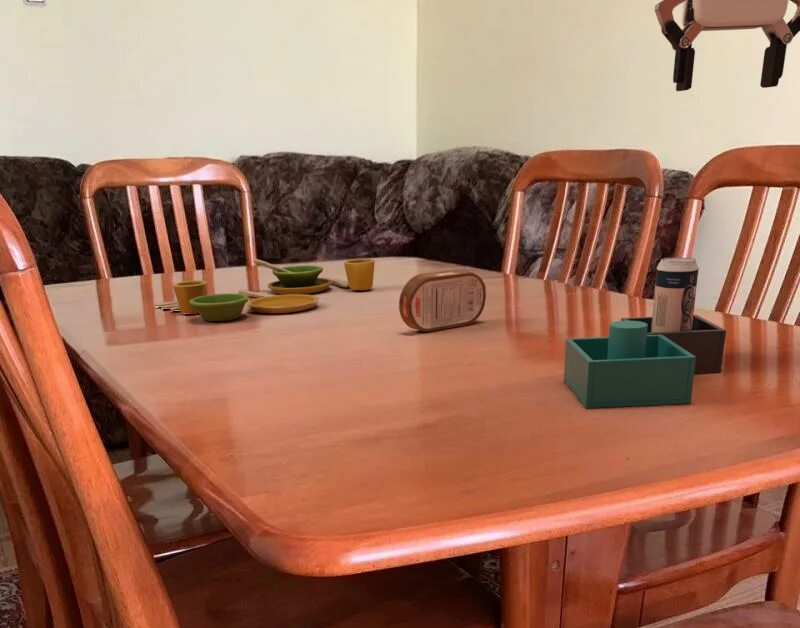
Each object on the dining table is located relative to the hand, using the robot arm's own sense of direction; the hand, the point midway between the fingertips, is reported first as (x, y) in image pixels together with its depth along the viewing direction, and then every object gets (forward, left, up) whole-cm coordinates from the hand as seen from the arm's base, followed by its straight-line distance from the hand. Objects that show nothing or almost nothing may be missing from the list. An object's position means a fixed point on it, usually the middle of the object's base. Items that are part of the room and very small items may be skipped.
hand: (726, 88), depth 92 cm
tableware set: (+59, -56, -31) cm, 87 cm away
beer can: (+5, +3, -30) cm, 30 cm away
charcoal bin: (+5, +3, -30) cm, 31 cm away
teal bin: (+13, +14, -30) cm, 36 cm away
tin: (+30, -25, -31) cm, 50 cm away
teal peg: (+13, +14, -30) cm, 35 cm away
